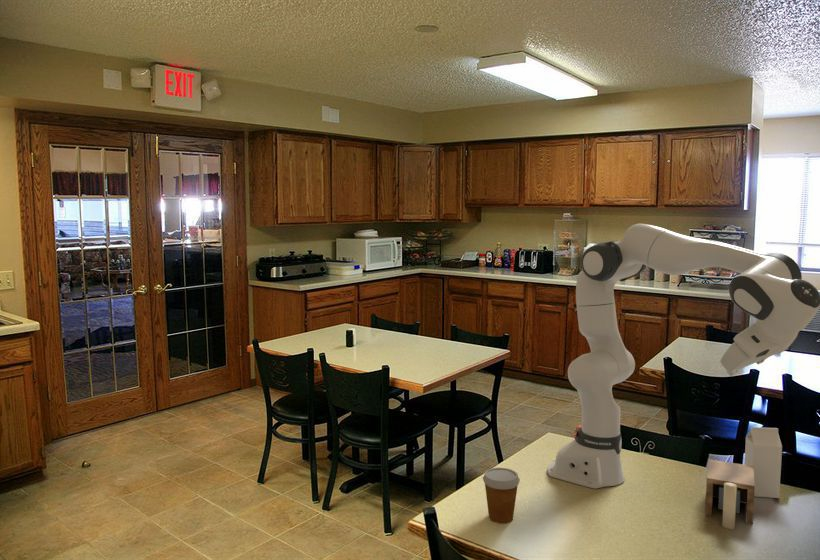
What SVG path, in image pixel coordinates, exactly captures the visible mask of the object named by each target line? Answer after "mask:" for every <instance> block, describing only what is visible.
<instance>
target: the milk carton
mask: <svg viewBox="0 0 820 560" xmlns="http://www.w3.org/2000/svg"><path fill="white" fill-rule="evenodd" d="M744 446H745V449H744V465H749V466H753V469H754V483H755V491H754V497H757V498H758V497H759V498H771V499H772V498H773V499H780V493H781V492H780V491H781V476H782V475H781V473H782V472H781V471H782V455H783V453H782V452H783V444H782V441H781V439H780V435H779V428H777V427H761V426H759V427H758V426H750V429H749V432H748V433H747V434H746V435H745V445H744Z"/></svg>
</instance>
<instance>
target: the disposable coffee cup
mask: <svg viewBox="0 0 820 560" xmlns="http://www.w3.org/2000/svg"><path fill="white" fill-rule="evenodd" d="M520 480H521V479H520V477H519V475H518V472H516V471H515V470H513V469H510V468H508V467H507V468H506V467H492V468H489V469H487V470H485V472H484V474H483V477H482V481H483V482H484V486H485V496H486V502H487V503H486V504H487V505H486V506H487V511H488V520H490V521H491V522H493V523H494V524H495V523H496V524H501V525H503V524H510V523H511V522H513V520H514V514H515V513H514V512H515V507H516V499H517V492H518V486H519V484H520Z"/></svg>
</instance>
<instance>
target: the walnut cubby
mask: <svg viewBox="0 0 820 560" xmlns="http://www.w3.org/2000/svg"><path fill="white" fill-rule="evenodd" d="M724 483H733V484H735V485H737V488H740V503H744V504H745V523H746V524H749V525H753V524H754V509H755V507H754V505H755V496H754V491H755V483H754V469H753V466H749V465H745V464H742V463H735V462H729V461H723V460H716V459H710V458H709V459H708V464H707V472H706V485H705V486H706V489H705V511H704V515H705V516H709V517H712V515H713V504H714V503H713V502H714V498H716V499H719V485H724Z"/></svg>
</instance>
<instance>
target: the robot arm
mask: <svg viewBox="0 0 820 560" xmlns="http://www.w3.org/2000/svg"><path fill="white" fill-rule="evenodd" d="M580 266H581V271H579V273H578V274H577V276H576V285H575V286H576V287H575V302H576V313H577V322H578V324H577V325H578V331H579V333H580V335H582V336H583V337H585V339H586V341H587V343H588V346H589V349H590V352H588V353H583V354H581V355H580V356H578V357H577V358H575V359H574V360H572V361H571V362H570V363H569V364H568V367H567V377H568V381H569V383H570V384H571V386H572V387H573V388H574V389H576V390H577V392H578V396H579V398H580V399H579V400H580V405H581V406H580V407H581V424H579V425H577V426H576V428H575V431H574V436H573V437H574V440H571V441H570V442H568V443H567V444H564V445H563V446H561V448H559V450H558V452H557V453H556V457H555V460H553V461H551V462H550V463H549V465H548V467H547V471H546V473H547V476H549V477H551V478H555V479H558V480H562V481H565V482H569V483H573V484H576V485H579V486H583V487H587V488H590V489H595V490H597V489H599V488H604V487H613V486H615V487H616V486H619V485H621V484H622V483H624V482H625V476H624V472H623V468H622V461H621V451H622V445H623V443H622V433H621V407H620V405H619V404H618V403H617V402H616V400H615V398H614V396H613V395H614V394H613V386H614V385H616V384H617V385H618V384H620V383H623V382H624V381H625V380H627V379H628V378H630V377H631V375H633V373H634V371H635V368H636V361H635V359H634V356H633V354H632V353H631V352H630V351H629V350H628V349H627V348H626V346H625V344H624V342H623V339H622V336H621V333H620V331H619V327H618V319H617V312H616V311H617V310H616V303H615V302H616V300H615V293H614V288H615V285H616V284H617V282H619V281H620V282H625V281H627V280H629V279H632V278H634V277H636V276H638V275H640V274H641V273H642V272H644V271H645V270H646V269H647V267H648V268H650V269H652V270H655V271H657V272H659V273H662V274H665V275H670V276H681V275H685V274H687V273H692V272H695V271H698V270H702V269H706V268H721V269H722V268H723V269H726V270H730V271H733V272H736V273H739V274H738V275H736V276H735V277H733V278H732V280H730V283H729V285H728V293H729V298H730V299H731V302H732V303H733V304H734V305H735V306H736V307H737V308H738V309H740V310H741V311H743V312H745V313H746V314H748V315H749V316H751V317H753V318H755V319H756V320H755V321H754V322H752V323H751V324H750V325H749V326H748V327H747V328H745V329H743V330H742V331H740V332H739V333H737V334H736V335H735V336H734V337H733V341H734V342H733V343H731V345H730V346H729V347H728V348H727V350H726V351H725V352H724V354H723V355H722V357H721V359H720V361H719V362H720V365H721V366H722V367H723V368H724V369H725V370H726V373H727V375H729V376H731V377H732V376H734V375H737V373H738V372H739V370H741V369H743V368H747V367H748V366H750V365H754V364H757V365H760V364H763V363H764V362H765V360H767V359H768V358H770V357H772V356H775V355H777V354H781V353H784V352H785V351H786V350H787V349H789V348H790V346H791V345H792V344H793V342H794V341H795V340H796V338H797V337H798V335H799V332H800V331H802V330H804V329H805V328H806V327H807V326H808V325H809V324H810V323H811V322H812V320H813V319H814V318H815V316H816V315H817V313H818V311H819V309H820V292H819V290H818V289H817V287H815V286H814V285H813V284H812V283H810V282H809V281H807V280H805V279H803V277H802V270H801V268H800V266H799V265H798V263H797V262H796V261H795V260H794V259H792V258H791V257H790V256H788V255H786V254H784V253H781V252H780V253H779V252H759V251H756V250H753V249H750V248H749V249H748V248H745V247H741V246H737V245H734V244H729V243H725V242H723V241H719V240H712V239H706V238H699V237H694V236H689V235H685V234H682V233H681V234H680V233H678V232H675V231H672V230H669V229H666V228H664V227H660V226H656V225H653V224H647V223H636V224H632V225H631V226H630V227H628V228H627V229H626V231H625V232H624V234H623V237H622V239H621V240H620V241H619V240H617V241H616V240H615V241H605V242H601V243H597V244H594V245H591V246H590V247H588V248H587V249H585V250H584V251H583V253H582V255H581V259H580Z"/></svg>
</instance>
